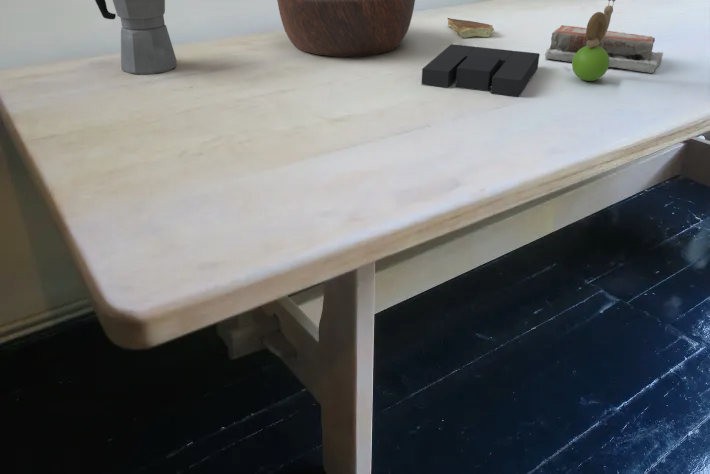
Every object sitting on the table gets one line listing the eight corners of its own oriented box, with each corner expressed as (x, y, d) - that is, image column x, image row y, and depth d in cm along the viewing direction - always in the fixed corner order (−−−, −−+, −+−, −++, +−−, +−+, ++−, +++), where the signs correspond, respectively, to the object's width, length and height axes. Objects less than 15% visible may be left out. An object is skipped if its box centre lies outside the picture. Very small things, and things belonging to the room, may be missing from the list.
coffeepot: (198, 61, 113) (185, -53, 104) (173, 77, 105) (156, -45, 96) (117, 55, 116) (97, -56, 107) (86, 71, 108) (61, -49, 99)
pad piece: (498, 76, 106) (500, 57, 104) (487, 91, 100) (489, 71, 98) (468, 73, 108) (469, 54, 106) (455, 87, 101) (456, 67, 100)
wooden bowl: (441, 48, 121) (445, -11, 115) (325, 70, 108) (323, 5, 103) (363, 22, 138) (363, -30, 133) (255, 39, 126) (251, -18, 121)
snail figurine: (614, 78, 105) (630, -1, 99) (595, 87, 101) (611, 6, 95) (582, 71, 108) (596, -6, 102) (563, 80, 104) (576, 0, 98)
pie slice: (446, 25, 137) (447, 16, 136) (483, 24, 137) (483, 15, 136) (459, 38, 127) (460, 28, 126) (498, 37, 128) (499, 27, 127)
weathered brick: (547, 31, 112) (561, 20, 119) (543, 60, 114) (557, 47, 122) (661, 44, 104) (669, 31, 112) (654, 74, 107) (662, 60, 114)
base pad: (537, 68, 110) (539, 53, 109) (518, 97, 97) (521, 80, 96) (450, 58, 115) (451, 44, 114) (421, 84, 102) (422, 68, 101)
